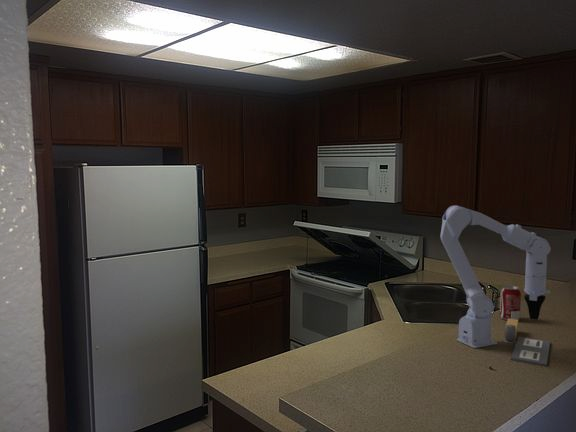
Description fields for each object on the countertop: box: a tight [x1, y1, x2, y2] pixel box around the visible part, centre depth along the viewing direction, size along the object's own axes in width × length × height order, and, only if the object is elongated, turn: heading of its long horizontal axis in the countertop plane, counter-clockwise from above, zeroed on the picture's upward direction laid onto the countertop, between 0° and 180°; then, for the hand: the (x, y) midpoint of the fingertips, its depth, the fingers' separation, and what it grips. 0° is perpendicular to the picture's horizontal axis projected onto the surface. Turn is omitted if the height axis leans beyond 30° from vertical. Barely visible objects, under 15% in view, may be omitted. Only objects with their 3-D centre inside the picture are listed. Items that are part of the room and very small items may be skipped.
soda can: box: [499, 285, 522, 321], centre depth 176 cm, size 7×7×12 cm
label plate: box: [502, 336, 551, 367], centre depth 144 cm, size 22×13×1 cm, turn 149°
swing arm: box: [504, 318, 519, 341], centre depth 157 cm, size 14×3×4 cm, turn 151°
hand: (534, 318), depth 148 cm, fingers closed
